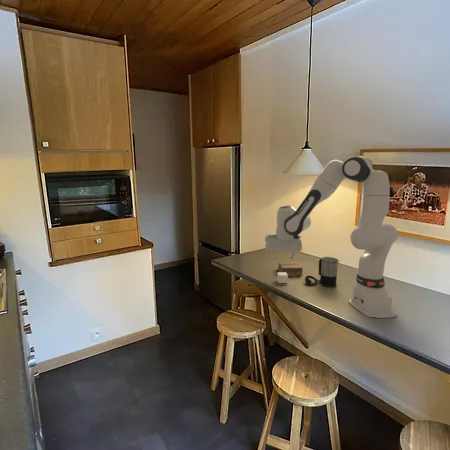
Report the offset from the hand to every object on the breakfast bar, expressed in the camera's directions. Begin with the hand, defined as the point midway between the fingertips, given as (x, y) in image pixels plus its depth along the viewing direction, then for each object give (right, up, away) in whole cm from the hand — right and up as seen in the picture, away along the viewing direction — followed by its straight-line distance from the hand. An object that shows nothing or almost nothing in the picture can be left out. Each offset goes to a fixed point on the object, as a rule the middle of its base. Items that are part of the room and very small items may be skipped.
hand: (282, 258), depth 178 cm
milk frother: (+21, -15, 0) cm, 26 cm away
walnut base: (+8, -11, +18) cm, 22 cm away
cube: (0, -14, +3) cm, 14 cm away
